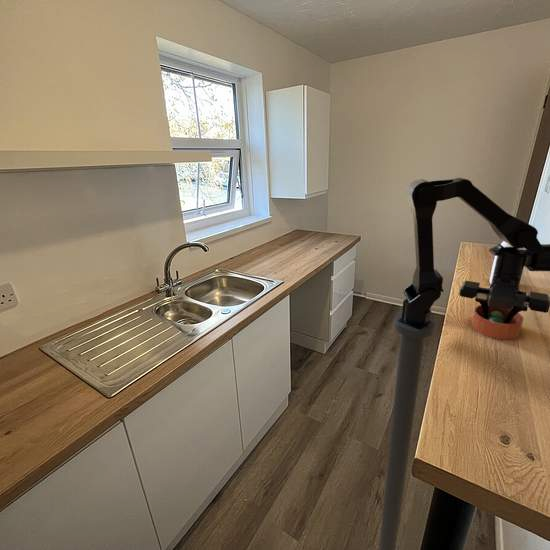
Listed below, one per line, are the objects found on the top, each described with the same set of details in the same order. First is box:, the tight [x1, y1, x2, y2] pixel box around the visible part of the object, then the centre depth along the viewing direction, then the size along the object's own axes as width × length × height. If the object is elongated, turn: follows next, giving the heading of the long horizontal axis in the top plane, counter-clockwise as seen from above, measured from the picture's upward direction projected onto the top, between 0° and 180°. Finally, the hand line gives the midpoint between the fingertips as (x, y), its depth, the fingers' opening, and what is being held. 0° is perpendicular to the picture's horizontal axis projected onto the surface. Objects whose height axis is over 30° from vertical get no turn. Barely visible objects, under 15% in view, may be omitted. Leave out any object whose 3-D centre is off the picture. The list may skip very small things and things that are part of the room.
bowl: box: [471, 304, 524, 340], centre depth 82 cm, size 11×11×4 cm
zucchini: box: [488, 311, 505, 324], centre depth 82 cm, size 8×4×4 cm, turn 142°
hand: (495, 322), depth 83 cm, fingers open, 4 cm apart
